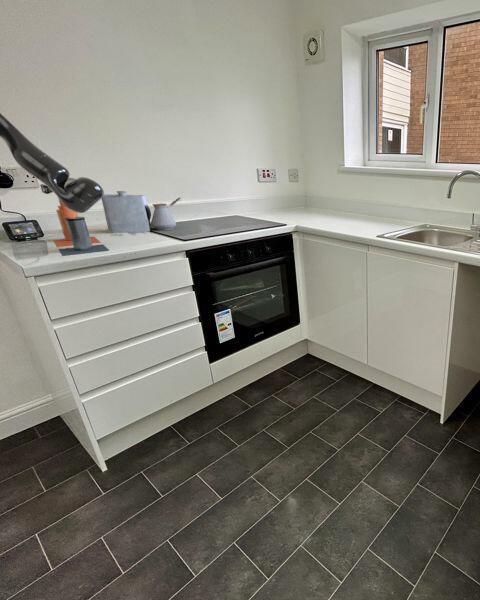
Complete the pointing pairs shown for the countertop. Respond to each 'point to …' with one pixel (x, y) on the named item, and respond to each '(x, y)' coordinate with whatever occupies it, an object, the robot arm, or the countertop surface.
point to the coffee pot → (163, 217)
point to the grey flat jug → (144, 204)
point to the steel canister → (79, 233)
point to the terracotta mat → (69, 243)
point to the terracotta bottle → (64, 213)
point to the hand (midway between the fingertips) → (67, 187)
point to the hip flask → (126, 213)
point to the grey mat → (72, 251)
